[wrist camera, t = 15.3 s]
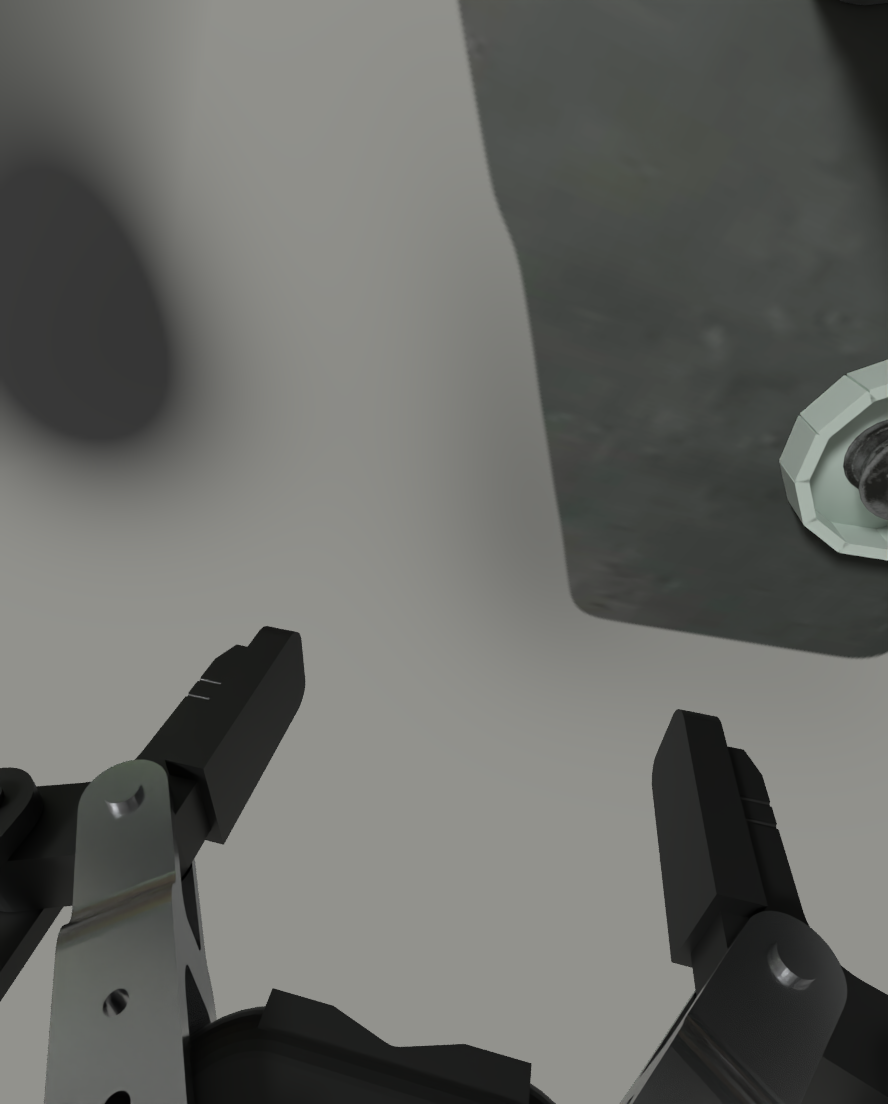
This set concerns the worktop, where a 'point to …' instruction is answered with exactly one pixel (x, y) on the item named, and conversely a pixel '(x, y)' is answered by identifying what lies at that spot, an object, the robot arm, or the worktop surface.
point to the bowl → (837, 463)
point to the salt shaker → (870, 468)
